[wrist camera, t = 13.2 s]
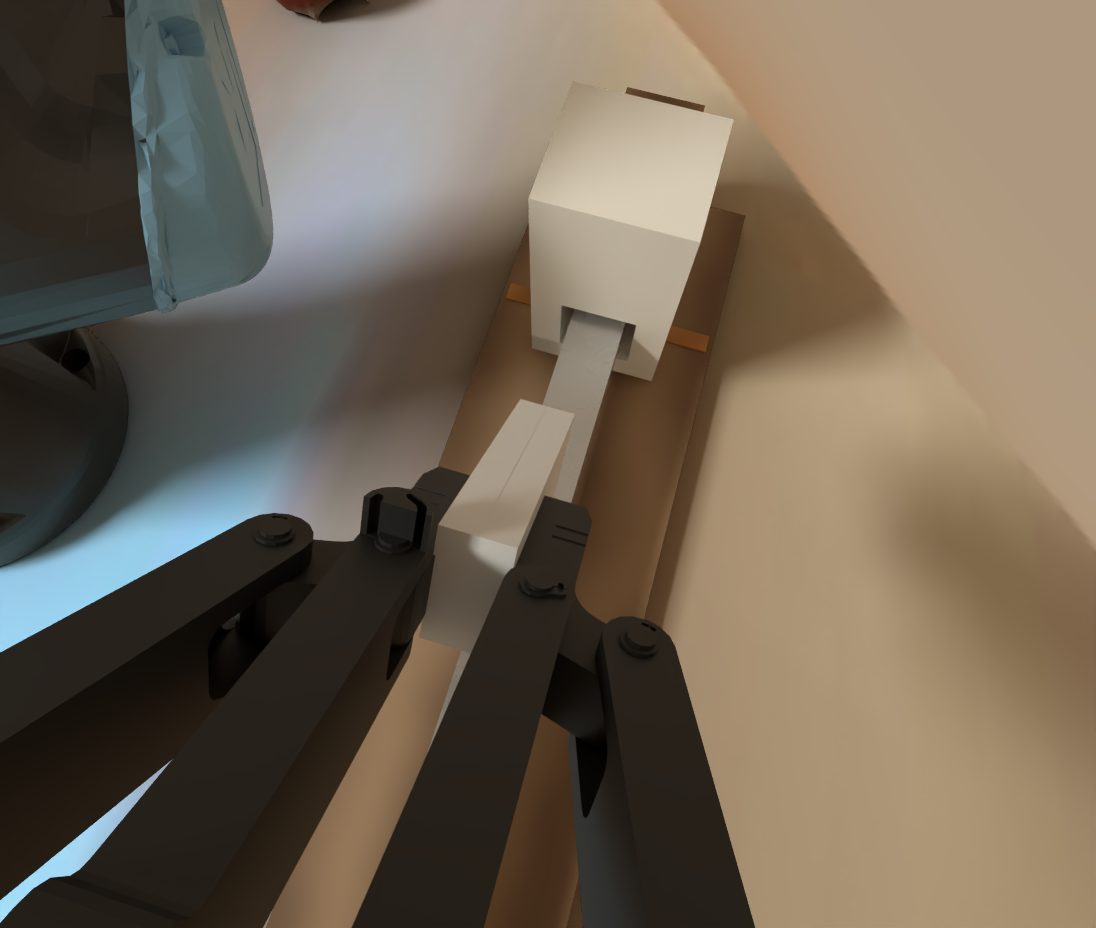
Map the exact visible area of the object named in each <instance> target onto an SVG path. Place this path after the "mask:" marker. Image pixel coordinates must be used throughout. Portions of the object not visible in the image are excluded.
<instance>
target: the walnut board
mask: <svg viewBox="0 0 1096 928" xmlns="http://www.w3.org/2000/svg"><path fill="white" fill-rule="evenodd" d="M625 94H629V95H634V96H638V97H642V98H646V99H650V100H654V101H659V102H663V103H667V104H671V105H675V106H679V107H684V108H688V109H692V110H696V111H700V112H703V111H704V107H705V106H704V105H700V104H696V103H691V102H687V101H683V100H679V99H675V98H671V97H666V96H662V95H658V94H654V93H650V92H645V91H641V90H637V89H633V88H629V87H627V90H626V93H625ZM744 218H745V216H744V215H740V214H736V213H733V212H729V211H725V210H721V209H717V208H713V207H710V209H709V213H708V216H707V220H706V224H705V227H704V231H703V235H702V238H701V242H700V245H699V248H698V251H697V253H696V256H695V259H694V262H693V265H692V268H691V270H690V273H689V276H688V279H687V282H686V285H685V287H684V290H683V293H682V296H681V299H680V302H679V305H678V307H677V310H676V313H675V316H674V319H673V322H672V324H671V327H670V330H669V333H668V336H667V339H666V341H665V344H664V347H663V350H662V353H661V356H660V359H659V361H658V364H657V367H656V370H655V373H654V376H653V378H652V381H649V380H645V379H642V378H638V377H634V376H631V375H627V374H623V373H620V372H616V371H613V372H612V375H611V378H610V382H609V385H608V388H607V392H606V395H605V398H604V402H603V405H602V408H601V412H600V415H599V418H598V422H597V425H596V428H595V432H594V435H593V438H592V442H591V445H590V448H589V452H588V455H587V458H586V462H585V465H584V468H583V472H582V475H581V478H580V482H579V485H578V488H577V492H576V495H575V498H574V502H573V504H576V505H580V506H583V507H586V508H587V510H588V512H589V515H590V517H591V520H592V524H591V528H590V532H589V535H588V539H587V543H586V547H585V550H584V554H583V558H582V562H581V565H580V569H579V573H578V577H577V581H576V584H575V593H576V597H577V599H578V601H579V602H580V604H581V605H582V607H583V608H584V609H585V610H586V611H588V612H589V613H590V614H591V615H593V616H594V617H596V618H597V619H599V620H601V621H602V622H604V623H606V624H607V623H608V622H609V621H610V620H612V619H615V618H618V617H620V616H633V617H637V618H641V619H644V617H645V613H646V609H647V605H648V601H649V597H650V593H651V589H652V585H653V581H654V577H655V573H656V569H657V565H658V561H659V557H660V553H661V549H662V545H663V541H664V537H665V533H666V529H667V525H668V521H669V517H670V513H671V509H672V505H673V501H674V497H675V493H676V489H677V485H678V481H679V477H680V473H681V469H682V465H683V461H684V457H685V453H686V449H687V445H688V441H689V437H690V433H691V429H692V425H693V421H694V418H695V414H696V410H697V406H698V402H699V398H700V394H701V390H702V386H703V382H704V378H705V374H706V370H707V366H708V362H709V358H710V354H711V350H712V346H713V342H714V338H715V334H716V330H717V326H718V322H719V318H720V314H721V310H722V306H723V302H724V298H725V294H726V290H727V286H728V282H729V278H730V274H731V270H732V266H733V262H734V258H735V254H736V250H737V246H738V242H739V238H740V234H741V230H742V226H743V222H744ZM557 359H558V355H554V354H551V353H547V352H543V351H540V350H536V349H532V331H531V289H530V247H529V223H528V226H527V229H526V232H525V234H524V237H523V240H522V242H521V245H520V248H519V250H518V253H517V256H516V258H515V261H514V264H513V266H512V269H511V272H510V275H509V277H508V280H507V283H506V285H505V288H504V291H503V293H502V296H501V299H500V301H499V304H498V307H497V309H496V312H495V315H494V317H493V320H492V323H491V326H490V328H489V331H488V334H487V336H486V339H485V342H484V344H483V347H482V350H481V352H480V355H479V358H478V360H477V363H476V366H475V368H474V371H473V374H472V377H471V379H470V382H469V385H468V387H467V390H466V393H465V395H464V398H463V401H462V403H461V406H460V409H459V411H458V414H457V417H456V419H455V422H454V425H453V428H452V430H451V433H450V436H449V438H448V441H447V444H446V446H445V449H444V452H443V454H442V457H441V460H440V462H439V465H438V467H443V468H446V469H450V470H453V471H457V472H460V473H464V474H467V475H471V474H472V472H473V471H474V469H475V468H476V466H477V465H478V463H479V462H480V460H481V459H482V457H483V455H484V454H485V452H486V451H487V449H488V448H489V446H490V445H491V443H492V442H493V440H494V439H495V437H496V436H497V434H498V433H499V431H500V429H501V428H502V426H503V425H504V423H505V422H506V420H507V419H508V417H509V416H510V414H511V413H512V411H513V410H514V408H515V407H516V405H517V403H518V402H519V400H520V399H522V400H526V401H529V402H533V403H537V404H540V405H543V402H544V399H545V396H546V393H547V390H548V387H549V384H550V381H551V378H552V375H553V372H554V369H555V366H556V362H557ZM421 624H422V621H421V623H420V624H419V626H418V628H417V630H416V632H415V633H414V636H413V642H412V648H411V652H410V656H409V658H408V660H407V662H406V663H405V665H404V667H403V669H402V671H401V673H400V675H399V676H398V678H397V680H396V682H395V684H394V686H393V688H392V689H391V691H390V693H389V695H388V697H387V699H386V700H385V702H384V704H383V706H382V708H381V710H380V712H379V713H378V715H377V717H376V719H375V721H374V723H373V725H372V726H371V728H370V730H369V732H368V734H367V736H366V737H365V739H364V741H363V743H362V745H361V747H360V749H359V750H358V752H357V754H356V756H355V758H354V760H353V762H352V763H351V765H350V767H349V769H348V771H347V773H346V774H345V776H344V778H343V780H342V782H341V784H340V786H339V787H338V789H337V791H336V793H335V795H334V797H333V799H332V800H331V802H330V804H329V806H328V808H327V810H326V811H325V813H324V815H323V817H322V819H321V821H320V823H319V824H318V826H317V828H316V830H315V832H314V834H313V836H312V837H311V839H310V841H309V843H308V845H307V847H306V848H305V850H304V852H303V854H302V856H301V858H300V860H299V861H298V863H297V865H296V867H295V869H294V871H293V873H292V874H291V876H290V878H289V880H288V882H287V884H286V885H285V887H284V889H283V891H282V893H281V895H280V897H279V898H278V900H277V902H276V904H275V906H274V908H273V911H272V913H271V916H270V919H269V922H268V924H267V927H266V928H352V925H353V923H354V921H355V918H356V916H357V914H358V912H359V909H360V907H361V905H362V902H363V900H364V898H365V896H366V893H367V891H368V889H369V886H370V884H371V882H372V879H373V877H374V875H375V873H376V870H377V868H378V866H379V863H380V861H381V859H382V856H383V854H384V852H385V850H386V847H387V845H388V843H389V840H390V838H391V836H392V833H393V831H394V829H395V827H396V824H397V822H398V820H399V817H400V815H401V813H402V810H403V808H404V806H405V804H406V801H407V799H408V797H409V794H410V792H411V790H412V788H413V785H414V783H415V781H416V778H417V776H418V774H419V771H420V769H421V767H422V765H423V762H424V760H425V758H426V755H427V753H428V750H429V747H430V743H431V740H432V737H433V734H434V731H435V728H436V725H437V722H438V719H439V716H440V713H441V710H442V707H443V704H444V701H445V698H446V695H447V692H448V689H449V686H450V683H451V680H452V677H453V674H454V671H455V668H456V665H457V662H458V659H459V656H460V653H461V650H457V649H454V648H451V647H448V646H445V645H441V644H438V643H435V642H432V641H428V640H425V639H422V638H419V636H420V630H421ZM568 737H569V732H568V731H567V730H565V729H564V728H562V727H561V726H559V725H558V724H556V723H555V722H553V721H551V720H550V719H548V718H547V717H545V716H544V715H542V714H541V717H540V721H539V724H538V728H537V732H536V736H535V739H534V743H533V747H532V750H531V754H530V758H529V762H528V765H527V769H526V773H525V776H524V780H523V784H522V788H521V791H520V795H519V799H518V803H517V806H516V810H515V814H514V817H513V821H512V825H511V829H510V832H509V836H508V840H507V843H506V847H505V851H504V855H503V858H502V862H501V866H500V869H499V873H498V877H497V881H496V884H495V888H494V892H493V895H492V899H491V903H490V907H489V910H488V914H487V918H486V921H485V925H484V928H566V927H567V923H568V919H569V915H570V911H571V907H572V903H573V899H574V895H575V891H576V887H577V883H578V879H579V873H578V861H577V848H576V836H575V823H574V811H573V798H572V785H571V773H570V760H569V748H568Z"/></svg>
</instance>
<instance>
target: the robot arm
mask: <svg viewBox="0 0 1096 928" xmlns="http://www.w3.org/2000/svg"><path fill="white" fill-rule="evenodd" d="M272 244H273V220H272V210H271V203H270V197H269V191H268V185H267V180H266V175H265V170H264V165H263V161H262V156H261V151H260V146H259V141H258V137H257V132H256V128H255V124H254V120H253V115H252V111H251V107H250V103H249V99H248V95H247V91H246V87H245V83H244V79H243V75H242V71H241V68H240V64H239V60H238V56H237V52H236V49H235V45H234V42H233V38H232V35H231V31H230V27H229V24H228V20H227V17H226V14H225V10H224V7H223V4H222V0H0V566H2V565H5V564H7V563H10V562H12V561H15V560H17V559H19V558H21V557H23V556H25V555H27V554H29V553H31V552H33V551H35V550H36V549H38V548H40V547H41V546H43V545H44V544H46V543H48V542H49V541H50V540H52V539H53V538H55V537H56V536H57V535H59V534H60V533H61V532H62V531H64V530H65V529H66V528H67V527H68V526H69V525H71V524H72V523H73V522H74V521H75V520H76V519H77V518H78V517H79V516H80V515H81V514H82V513H83V512H84V511H85V510H86V509H87V507H88V506H89V505H90V504H91V503H92V502H93V500H94V499H95V498H96V496H97V495H98V494H99V492H100V491H101V489H102V488H103V486H104V485H105V483H106V481H107V480H108V478H109V476H110V475H111V473H112V471H113V469H114V467H115V464H116V462H117V460H118V457H119V455H120V452H121V449H122V446H123V442H124V438H125V434H126V428H127V419H128V401H127V393H126V387H125V383H124V380H123V377H122V374H121V371H120V369H119V367H118V365H117V363H116V361H115V360H114V358H113V356H112V355H111V353H110V352H109V351H108V349H107V348H106V347H105V346H104V345H103V344H102V343H101V341H99V340H98V339H97V338H96V337H95V336H94V335H93V334H91V333H90V332H89V331H88V330H86V329H85V328H84V327H87V326H91V325H95V324H99V323H103V322H107V321H111V320H115V319H120V318H124V317H128V316H132V315H136V314H140V313H144V312H148V311H153V310H157V309H158V311H160V312H161V313H165V312H170V311H172V310H173V309H175V308H176V306H177V304H178V303H179V302H183V301H186V300H190V299H193V298H196V297H200V296H203V295H207V294H210V293H213V292H217V291H220V290H224V289H227V288H230V287H234V286H237V285H240V284H243V283H245V282H247V281H248V280H250V279H252V278H253V277H255V276H256V275H257V274H258V273H259V272H260V271H261V270H262V269H263V267H264V266H265V264H266V262H267V260H268V258H269V256H270V253H271V248H272ZM574 416H575V414H572V413H569V412H565V411H562V410H558V409H554V408H551V407H547V406H544V405H540V404H537V403H533V402H529V401H526V400H522V399H520V400H519V402H518V403H517V405H516V407H515V408H514V410H513V411H512V413H511V414H510V416H509V417H508V419H507V420H506V422H505V423H504V425H503V426H502V428H501V429H500V431H499V433H498V434H497V436H496V437H495V439H494V440H493V442H492V443H491V445H490V446H489V448H488V449H487V451H486V452H485V454H484V455H483V457H482V459H481V460H480V462H479V463H478V465H477V466H476V468H475V469H474V471H473V472H472V474H471V475H467V474H464V473H460V472H457V471H453V470H450V469H446V468H443V467H438V468H435V469H433V470H431V471H429V472H427V473H424V474H423V475H422V476H421V478H420V479H419V480H418V481H417V483H416V484H415V486H414V487H413V488H412V489H411V490H410V489H405V488H399V487H386V488H380V489H377V490H373V491H371V492H370V493H368V494H367V495H365V496H364V501H363V510H362V520H361V529H360V534H359V535H358V536H357V537H356V539H355V540H354V541H348V542H335V541H323V540H313V531H312V529H311V526H310V525H309V524H308V523H306V522H305V521H304V520H302V519H301V518H298V517H295V516H292V515H289V514H278V513H271V514H263V515H258V516H255V517H253V518H250V519H247V520H245V521H244V522H242V523H240V524H238V525H236V526H234V527H232V528H231V529H229V530H227V531H225V532H223V533H221V534H219V535H218V536H216V537H214V538H212V539H210V540H208V541H206V542H205V543H203V544H201V545H199V546H197V547H195V548H193V549H192V550H190V551H188V552H186V553H184V554H182V555H180V556H179V557H177V558H175V559H173V560H171V561H169V562H167V563H166V564H164V565H162V566H160V567H158V568H156V569H154V570H153V571H151V572H149V573H147V574H145V575H143V576H141V577H140V578H138V579H136V580H134V581H132V582H130V583H128V584H127V585H125V586H123V587H121V588H119V589H117V590H115V591H114V592H112V593H110V594H108V595H106V596H104V597H102V598H101V599H99V600H97V601H95V602H93V603H91V604H90V605H88V606H86V607H84V608H82V609H80V610H78V611H77V612H75V613H73V614H71V615H69V616H67V617H65V618H64V619H62V620H60V621H58V622H56V623H54V624H52V625H51V626H49V627H47V628H45V629H43V630H41V631H39V632H38V633H36V634H34V635H32V636H30V637H28V638H26V639H25V640H23V641H21V642H19V643H17V644H15V645H13V646H12V647H10V648H8V649H6V650H4V651H2V652H0V900H1V899H2V898H3V897H5V896H6V895H7V894H8V893H10V892H11V891H12V890H13V889H14V888H16V887H17V886H18V885H19V884H21V883H22V882H23V881H24V880H25V879H27V878H28V877H29V876H30V875H32V874H33V873H34V872H35V871H36V870H38V869H39V868H40V867H41V866H43V865H44V864H45V863H46V862H47V861H49V860H50V859H51V858H52V857H54V856H55V855H56V854H57V853H58V852H60V851H61V850H62V849H63V848H64V847H66V846H67V845H68V844H69V843H71V842H72V841H73V840H74V839H75V838H77V837H78V836H79V835H80V834H82V833H83V832H84V831H85V830H86V829H88V828H89V827H90V826H91V825H93V824H94V823H95V822H96V821H97V820H99V819H100V818H101V817H102V816H104V815H105V814H106V813H107V812H108V811H110V810H111V809H112V808H113V807H115V806H116V805H117V804H118V803H119V802H121V801H122V800H123V799H124V798H126V797H127V796H128V795H129V794H130V793H132V792H133V791H134V790H135V789H137V788H138V787H139V786H140V785H141V784H143V783H144V782H145V781H146V780H148V779H149V778H150V777H151V776H152V775H154V774H155V773H156V772H157V771H158V770H160V769H161V768H162V767H163V766H165V765H166V764H167V763H168V762H169V761H171V760H172V761H171V762H170V763H169V764H168V765H167V767H166V768H165V769H164V770H163V772H162V773H161V774H160V775H159V776H158V778H157V779H156V780H155V781H154V782H153V784H152V785H151V786H150V787H149V788H148V790H147V791H146V792H145V793H144V794H143V796H142V797H141V798H140V799H139V800H138V802H137V803H136V804H135V805H134V807H133V808H132V809H131V810H130V811H129V813H128V814H127V815H126V816H125V817H124V819H123V820H122V821H121V822H120V823H119V825H118V826H117V827H116V828H115V829H114V831H113V832H112V833H111V834H110V835H109V837H108V838H107V839H106V840H105V842H104V843H103V844H102V845H101V846H100V848H99V849H98V850H97V851H96V852H95V854H94V855H93V856H92V857H91V858H90V860H89V861H88V862H87V863H86V864H85V865H84V866H83V867H82V868H81V869H80V870H78V871H77V872H75V873H74V874H72V875H71V876H64V877H54V878H49V879H48V880H46V881H45V882H43V883H41V884H40V885H38V886H37V887H35V888H34V889H32V890H31V891H30V892H29V893H28V894H27V895H26V896H25V897H24V898H23V899H22V900H21V901H20V902H19V903H18V904H17V905H16V906H15V907H14V908H13V909H12V910H11V911H10V912H9V914H8V915H7V916H6V917H5V918H4V919H3V921H2V922H1V923H0V928H263V926H264V924H265V922H266V921H267V919H268V917H269V915H270V913H271V911H272V910H273V908H274V906H275V904H276V902H277V900H278V898H279V897H280V895H281V893H282V891H283V889H284V887H285V885H286V884H287V882H288V880H289V878H290V876H291V874H292V873H293V871H294V869H295V867H296V865H297V863H298V861H299V860H300V858H301V856H302V854H303V852H304V850H305V848H306V847H307V845H308V843H309V841H310V839H311V837H312V836H313V834H314V832H315V830H316V828H317V826H318V824H319V823H320V821H321V819H322V817H323V815H324V813H325V811H326V810H327V808H328V806H329V804H330V802H331V800H332V799H333V797H334V795H335V793H336V791H337V789H338V787H339V786H340V784H341V782H342V780H343V778H344V776H345V774H346V773H347V771H348V769H349V767H350V765H351V763H352V762H353V760H354V758H355V756H356V754H357V752H358V750H359V749H360V747H361V745H362V743H363V741H364V739H365V737H366V736H367V734H368V732H369V730H370V728H371V726H372V725H373V723H374V721H375V719H376V717H377V715H378V713H379V712H380V710H381V708H382V706H383V704H384V702H385V700H386V699H387V697H388V695H389V693H390V691H391V689H392V688H393V686H394V684H395V682H396V680H397V678H398V676H399V675H400V673H401V671H402V669H403V667H404V665H405V663H406V662H407V660H408V658H409V656H410V652H411V648H412V642H413V636H414V633H415V632H416V630H417V628H418V626H419V624H420V623H421V621H422V624H421V630H420V636H419V638H422V639H425V640H428V641H432V642H435V643H438V644H441V645H445V646H448V647H451V648H454V649H457V650H461V651H464V652H467V653H470V657H469V659H468V661H467V663H466V666H465V668H464V670H463V673H462V675H461V677H460V680H459V682H458V684H457V686H456V689H455V691H454V693H453V696H452V698H451V700H450V702H449V705H448V707H447V709H446V712H445V714H444V716H443V719H442V721H441V723H440V725H439V728H438V730H437V732H436V735H435V737H434V739H433V742H432V744H431V746H430V748H429V751H428V753H427V755H426V758H425V760H424V762H423V765H422V767H421V769H420V771H419V774H418V776H417V778H416V781H415V783H414V785H413V788H412V790H411V792H410V794H409V797H408V799H407V801H406V804H405V806H404V808H403V810H402V813H401V815H400V817H399V820H398V822H397V824H396V827H395V829H394V831H393V833H392V836H391V838H390V840H389V843H388V845H387V847H386V850H385V852H384V854H383V856H382V859H381V861H380V863H379V866H378V868H377V870H376V873H375V875H374V877H373V879H372V882H371V884H370V886H369V889H368V891H367V893H366V896H365V898H364V900H363V902H362V905H361V907H360V909H359V912H358V914H357V916H356V918H355V921H354V923H353V925H352V928H484V925H485V921H486V918H487V914H488V910H489V907H490V903H491V899H492V895H493V892H494V888H495V884H496V881H497V877H498V873H499V869H500V866H501V862H502V858H503V855H504V851H505V847H506V843H507V840H508V836H509V832H510V829H511V825H512V821H513V817H514V814H515V810H516V806H517V803H518V799H519V795H520V791H521V788H522V784H523V780H524V776H525V773H526V769H527V765H528V762H529V758H530V754H531V750H532V747H533V743H534V739H535V736H536V732H537V728H538V724H539V721H540V717H541V714H542V715H544V716H545V717H547V718H548V719H550V720H551V721H553V722H555V723H556V724H558V725H559V726H561V727H562V728H564V729H565V730H567V731H568V732H569V737H568V748H569V760H570V773H571V785H572V798H573V811H574V823H575V836H576V848H577V861H578V873H579V886H580V899H581V911H582V924H583V928H755V926H754V922H753V919H752V915H751V912H750V908H749V905H748V901H747V897H746V894H745V890H744V887H743V883H742V880H741V876H740V873H739V869H738V866H737V862H736V859H735V855H734V852H733V848H732V845H731V841H730V838H729V834H728V831H727V827H726V824H725V820H724V817H723V813H722V810H721V806H720V802H719V799H718V795H717V792H716V788H715V785H714V781H713V778H712V774H711V771H710V767H709V764H708V760H707V757H706V753H705V750H704V746H703V743H702V739H701V736H700V732H699V729H698V725H697V722H696V718H695V715H694V711H693V707H692V704H691V700H690V697H689V693H688V690H687V686H686V683H685V679H684V676H683V672H682V669H681V665H680V662H679V658H678V655H677V651H676V648H675V646H674V644H673V642H672V640H671V638H670V636H669V635H668V634H666V633H665V632H664V631H663V630H662V629H661V628H660V627H659V626H657V625H655V624H653V623H651V622H649V621H648V620H644V619H641V618H637V617H633V616H620V617H618V618H615V619H612V620H610V621H609V622H608V623H607V624H606V623H604V622H602V621H601V620H599V619H597V618H596V617H594V616H593V615H591V614H590V613H589V612H588V611H586V610H585V609H584V608H583V607H582V605H581V604H580V602H579V601H578V599H577V597H576V593H575V584H576V581H577V577H578V573H579V569H580V565H581V562H582V558H583V554H584V550H585V547H586V543H587V539H588V535H589V532H590V528H591V524H592V520H591V517H590V515H589V512H588V510H587V508H586V507H583V506H580V505H576V504H573V503H569V502H566V501H562V500H559V499H555V498H554V494H555V490H556V486H557V482H558V478H559V475H560V471H561V467H562V463H563V459H564V455H565V451H566V447H567V443H568V440H569V436H570V432H571V428H572V424H573V420H574ZM234 616H235V617H234ZM231 618H232V619H231ZM228 620H229V621H228Z"/></svg>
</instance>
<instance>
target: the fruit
mask: <svg viewBox="0 0 1096 928" xmlns="http://www.w3.org/2000/svg"><path fill="white" fill-rule="evenodd" d="M277 1H278V2H279V3H280V4H281V5H282V6H283V7H285V8H286V9H287V10H290V11H295V12H298V13H303V14H306V15H309V16H311V17H312V18H314V19H316V20H317V22H318V18H319V15H320V13H321V12H322V10H323V9H324V8H325V7H326V6H327V5H328V4H329V3H331V2H332V1H334V0H277ZM366 1H367V2H368V3H369V1H368V0H366Z"/></svg>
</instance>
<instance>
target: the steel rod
mask: <svg viewBox="0 0 1096 928" xmlns="http://www.w3.org/2000/svg"><path fill="white" fill-rule="evenodd" d="M626 325H627V323H626V322H622V321H619V320H615V319H611V318H607V317H604V316H600V315H596V314H592V313H589V312H585V311H581V310H578V309H574V311H573V314H572V317H571V320H570V323H569V326H568V329H567V332H566V335H565V338H564V341H563V344H562V347H561V350H560V353H559V356H558V359H557V362H556V366H555V369H554V372H553V375H552V378H551V381H550V384H549V387H548V390H547V393H546V396H545V399H544V402H543V405H544V406H547V407H551V408H554V409H558V410H562V411H565V412H569V413H572V414H575V416H574V420H573V424H572V428H571V432H570V436H569V440H568V443H567V447H566V451H565V455H564V459H563V463H562V467H561V471H560V475H559V478H558V482H557V486H556V490H555V494H554V498H555V499H559V500H562V501H566V502H569V503H573V502H574V498H575V495H576V492H577V488H578V485H579V482H580V478H581V475H582V472H583V468H584V465H585V462H586V458H587V455H588V452H589V448H590V445H591V442H592V438H593V435H594V432H595V428H596V425H597V422H598V418H599V415H600V412H601V408H602V405H603V402H604V398H605V395H606V392H607V388H608V385H609V382H610V378H611V375H612V372H613V368H614V365H615V362H616V358H617V355H618V352H619V348H620V345H621V342H622V338H623V335H624V332H625V328H626ZM469 657H470V653H467V652H464V651H461V653H460V656H459V659H458V662H457V665H456V668H455V671H454V674H453V677H452V680H451V683H450V686H449V689H448V692H447V695H446V698H445V701H444V704H443V707H442V710H441V713H440V716H439V719H438V722H437V725H436V728H435V731H434V734H433V737H432V740H431V743H430V746H431V744H432V742H433V739H434V737H435V735H436V732H437V730H438V728H439V725H440V723H441V721H442V719H443V716H444V714H445V712H446V709H447V707H448V705H449V702H450V700H451V698H452V696H453V693H454V691H455V689H456V686H457V684H458V682H459V680H460V677H461V675H462V673H463V670H464V668H465V666H466V663H467V661H468V659H469ZM429 748H430V747H429ZM428 751H429V750H428Z"/></svg>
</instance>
